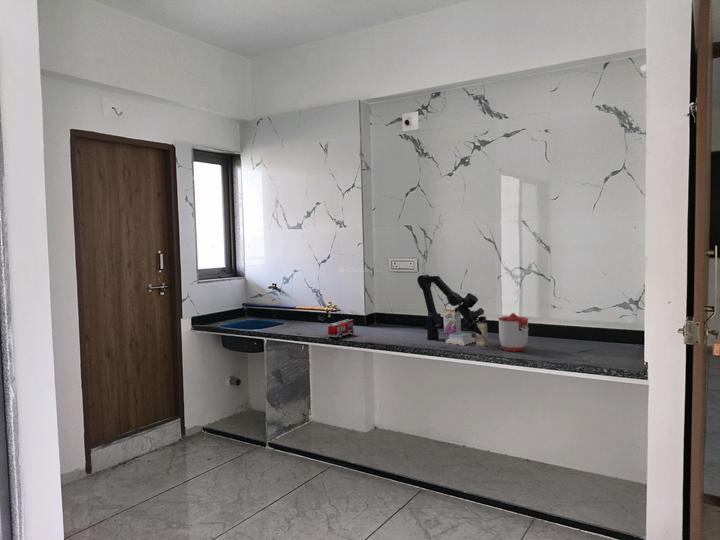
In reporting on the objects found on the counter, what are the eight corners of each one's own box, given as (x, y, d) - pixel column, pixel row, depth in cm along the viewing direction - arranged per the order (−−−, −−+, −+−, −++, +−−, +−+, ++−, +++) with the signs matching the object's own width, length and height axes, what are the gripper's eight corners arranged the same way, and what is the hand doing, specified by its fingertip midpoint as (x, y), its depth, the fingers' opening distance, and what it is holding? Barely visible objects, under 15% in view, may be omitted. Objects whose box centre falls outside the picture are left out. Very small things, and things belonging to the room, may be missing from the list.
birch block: (483, 346, 308) (482, 324, 308) (476, 345, 312) (475, 323, 311) (487, 345, 312) (487, 323, 311) (480, 344, 315) (480, 322, 314)
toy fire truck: (356, 335, 357) (355, 319, 356) (336, 339, 343) (335, 324, 342) (346, 333, 362) (345, 318, 362) (325, 338, 349) (325, 322, 348)
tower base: (463, 345, 313) (463, 336, 312) (445, 343, 321) (445, 334, 321) (474, 341, 322) (474, 333, 321) (457, 339, 330) (456, 331, 329)
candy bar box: (443, 333, 351) (442, 308, 350) (449, 332, 354) (448, 307, 353) (455, 335, 342) (455, 309, 341) (461, 334, 345) (461, 308, 344)
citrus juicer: (515, 354, 286) (515, 316, 285) (492, 349, 301) (492, 312, 300) (537, 350, 293) (537, 313, 292) (513, 345, 309) (513, 310, 307)
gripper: (466, 305, 306) (484, 327, 299) (483, 302, 320) (500, 322, 313) (454, 318, 312) (471, 340, 305) (471, 314, 325) (488, 334, 319)
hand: (483, 334), depth 310 cm, fingers closed on birch block, 4 cm apart
